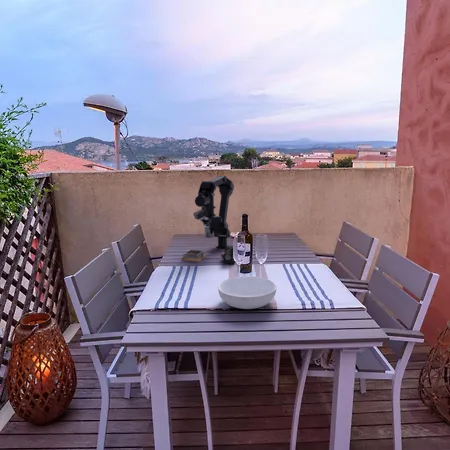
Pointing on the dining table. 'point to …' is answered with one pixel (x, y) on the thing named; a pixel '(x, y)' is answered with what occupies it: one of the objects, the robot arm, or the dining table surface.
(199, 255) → the mount
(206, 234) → the lens
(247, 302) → the serving bowl
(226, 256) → the night vision scope
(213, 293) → the dining table surface
